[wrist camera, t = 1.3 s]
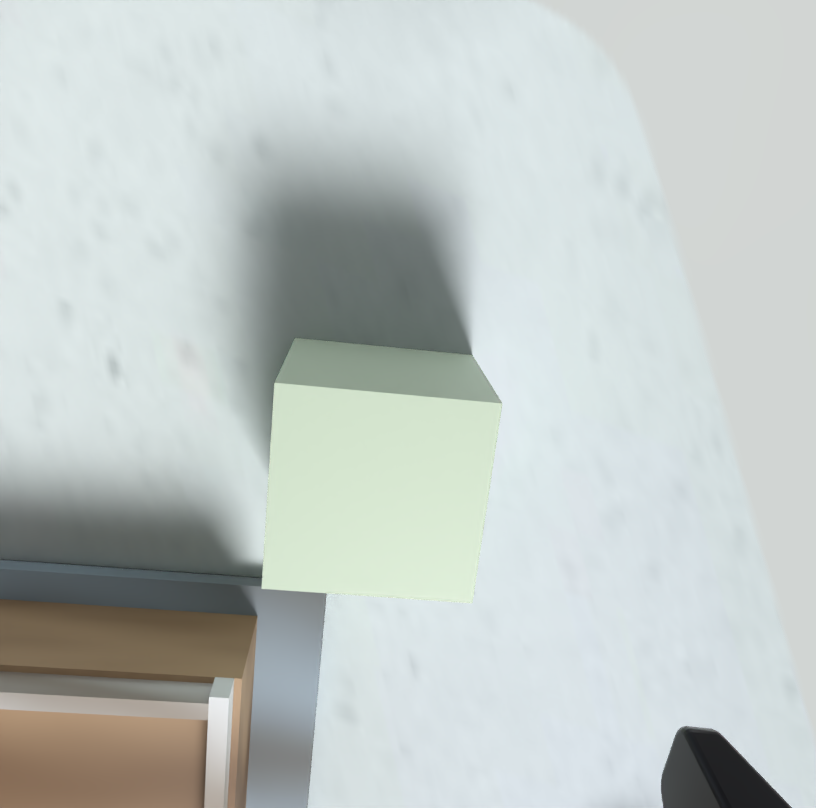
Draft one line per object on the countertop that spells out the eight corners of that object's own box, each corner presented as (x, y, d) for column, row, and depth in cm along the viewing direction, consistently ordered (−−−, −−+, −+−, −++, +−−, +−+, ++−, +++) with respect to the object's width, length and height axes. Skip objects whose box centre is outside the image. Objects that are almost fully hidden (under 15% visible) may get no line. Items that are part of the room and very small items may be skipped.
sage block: (449, 515, 23) (472, 603, 18) (283, 501, 22) (261, 588, 18) (471, 354, 21) (502, 403, 17) (295, 337, 21) (274, 382, 16)
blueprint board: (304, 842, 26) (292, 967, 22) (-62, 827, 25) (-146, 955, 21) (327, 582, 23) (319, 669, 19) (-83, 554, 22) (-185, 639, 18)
